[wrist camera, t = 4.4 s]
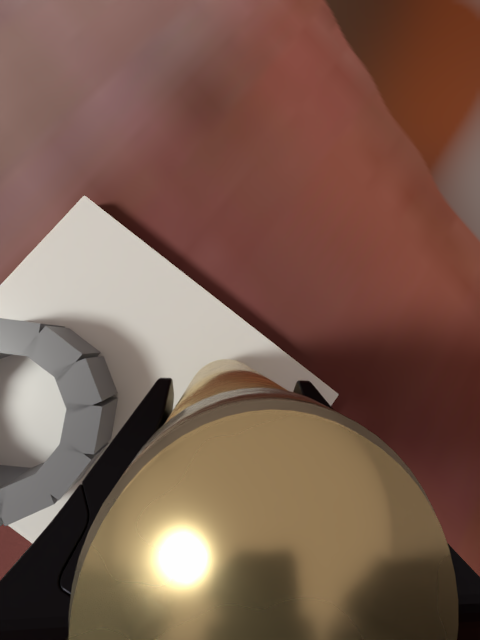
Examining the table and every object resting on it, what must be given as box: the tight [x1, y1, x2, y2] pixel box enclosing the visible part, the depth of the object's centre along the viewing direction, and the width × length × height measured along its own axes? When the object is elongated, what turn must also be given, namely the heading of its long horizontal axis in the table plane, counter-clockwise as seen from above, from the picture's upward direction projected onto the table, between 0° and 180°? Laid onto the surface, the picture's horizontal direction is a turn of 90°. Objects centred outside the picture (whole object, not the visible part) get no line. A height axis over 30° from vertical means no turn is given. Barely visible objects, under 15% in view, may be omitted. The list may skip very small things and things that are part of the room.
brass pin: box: [69, 359, 458, 640], centre depth 9 cm, size 4×4×12 cm
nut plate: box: [0, 195, 339, 543], centre depth 15 cm, size 19×16×3 cm
